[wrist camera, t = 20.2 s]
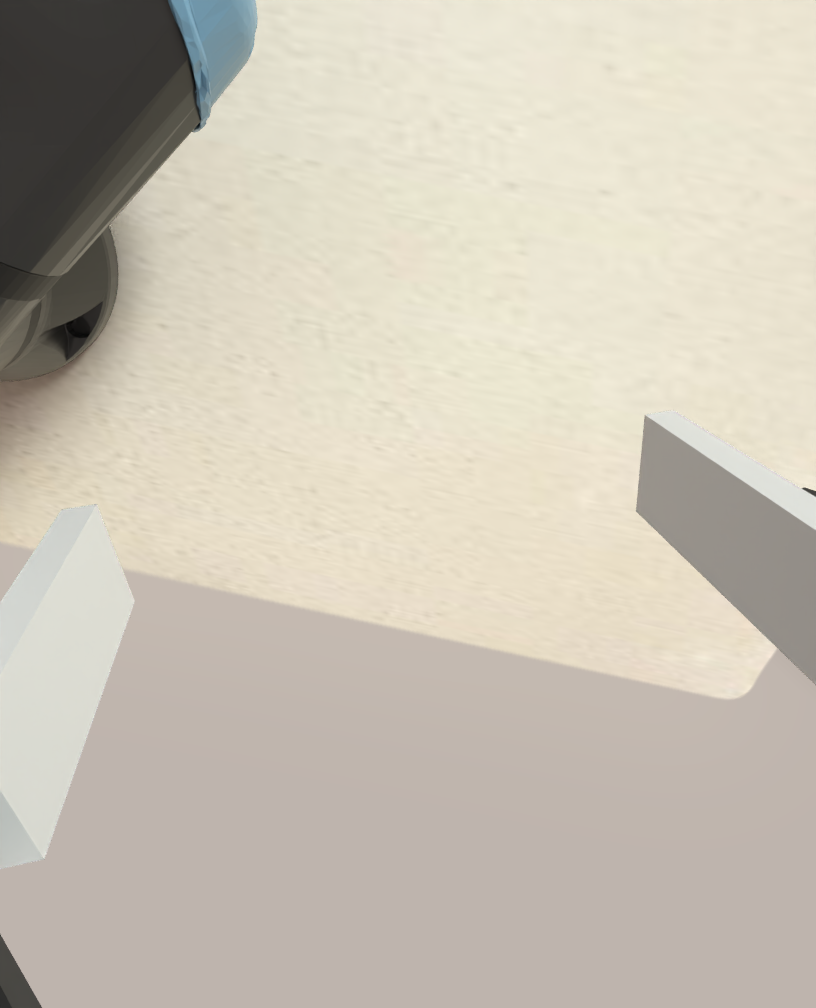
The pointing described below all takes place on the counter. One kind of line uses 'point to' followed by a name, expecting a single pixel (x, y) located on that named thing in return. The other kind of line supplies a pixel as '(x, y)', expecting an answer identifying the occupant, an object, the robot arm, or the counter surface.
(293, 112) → the counter surface
